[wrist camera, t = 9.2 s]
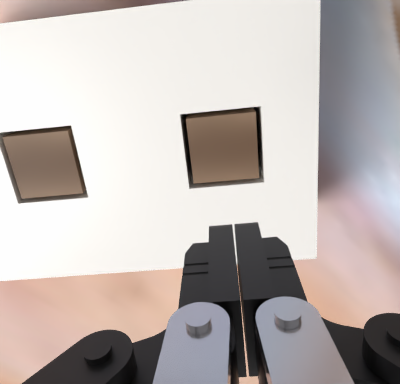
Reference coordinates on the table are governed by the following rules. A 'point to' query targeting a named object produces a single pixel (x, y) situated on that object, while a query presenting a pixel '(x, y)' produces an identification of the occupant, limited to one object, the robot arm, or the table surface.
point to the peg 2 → (223, 145)
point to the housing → (159, 131)
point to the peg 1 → (45, 162)
